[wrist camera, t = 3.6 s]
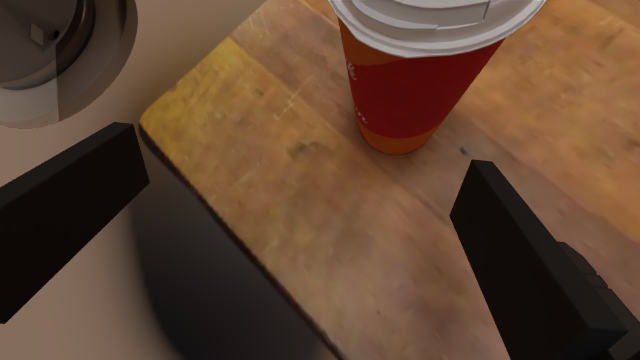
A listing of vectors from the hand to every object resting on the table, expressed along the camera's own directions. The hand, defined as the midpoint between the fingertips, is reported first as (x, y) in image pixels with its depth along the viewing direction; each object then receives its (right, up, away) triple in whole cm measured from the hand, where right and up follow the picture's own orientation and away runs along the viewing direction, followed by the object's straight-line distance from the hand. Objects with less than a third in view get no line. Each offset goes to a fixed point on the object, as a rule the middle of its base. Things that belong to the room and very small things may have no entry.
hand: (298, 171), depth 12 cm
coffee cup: (+7, +4, +12) cm, 15 cm away
